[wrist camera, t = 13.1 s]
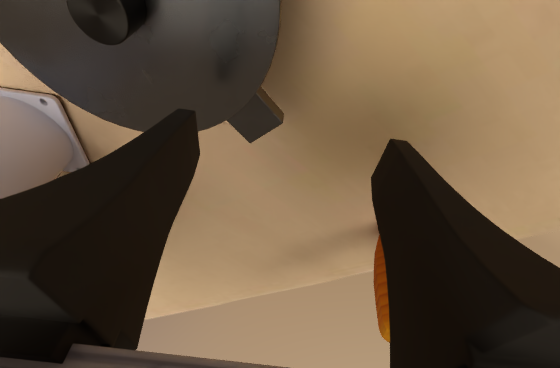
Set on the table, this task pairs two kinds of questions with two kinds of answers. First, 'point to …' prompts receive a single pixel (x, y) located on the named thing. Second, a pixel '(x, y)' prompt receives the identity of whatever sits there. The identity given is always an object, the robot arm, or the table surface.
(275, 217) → the table surface
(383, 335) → the carrot
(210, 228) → the table surface
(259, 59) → the pot lid
